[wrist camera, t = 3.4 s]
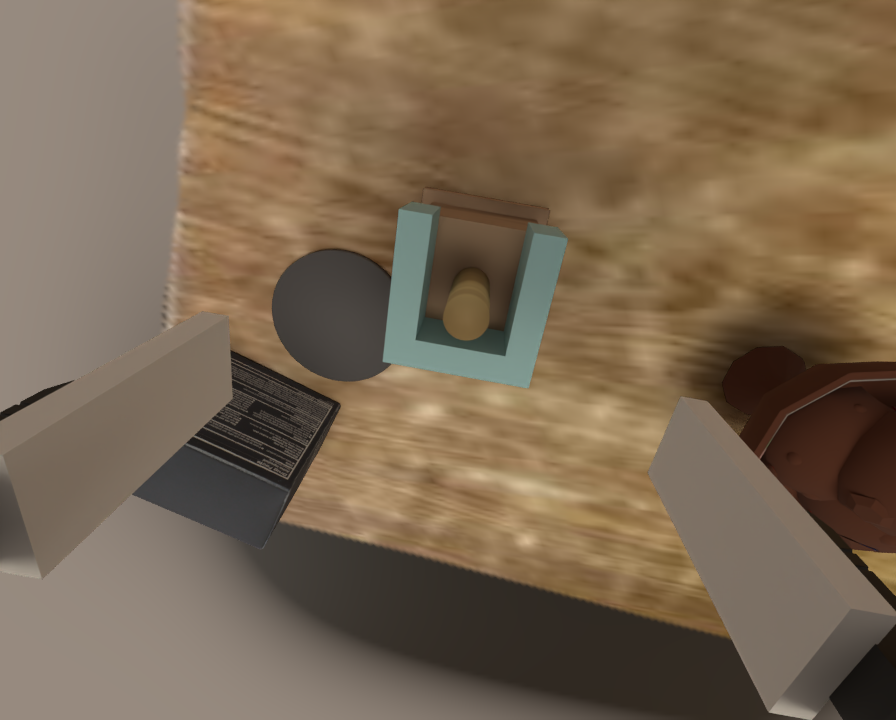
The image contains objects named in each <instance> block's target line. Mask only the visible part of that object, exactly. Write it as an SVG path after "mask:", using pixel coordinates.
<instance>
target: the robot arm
mask: <svg viewBox="0 0 896 720" xmlns="http://www.w3.org/2000/svg"><path fill="white" fill-rule="evenodd" d="M232 399H233V393H232V374H231V354H230V334H229V316H226V315H220V314H215V313H209V312H204V311H202V312H200V313H198V314H197V315H195V316H193V317H191V318H189V319H187V320H186V321H184V322H182V323H180V324H178V325H176V326H174V327H173V328H171V329H169V330H167V331H165V332H163V333H162V334H160V335H158V336H156V337H154V338H152V339H151V340H149V341H147V342H145V343H143V344H141V345H140V346H138V347H136V348H134V349H132V350H130V351H128V352H127V353H125V354H123V355H121V356H119V357H118V358H116V359H114V360H112V361H110V362H108V363H106V364H104V365H103V366H101V367H99V368H97V369H95V370H93V371H92V372H90V373H88V374H86V375H84V376H82V377H81V378H79V379H77V380H73V381H70V382H67V383H63V384H60V385H57V386H54V387H51V388H47V389H44V390H42V391H40V392H39V393H37V394H35V395H33V396H31V397H29V398H27V399H25V400H23V401H21V403H20V405H14V406H12V407H10V408H8V409H6V410H5V411H3V412H1V413H0V572H5V573H10V574H15V575H21V576H26V577H32V578H38V579H43V578H44V577H45V576H46V575H47V574H48V573H49V572H50V571H52V570H53V569H54V568H55V567H56V566H57V565H58V564H59V563H60V562H61V561H62V560H63V559H64V558H65V557H66V556H67V555H68V554H69V553H71V551H73V550H74V549H75V548H76V547H77V546H78V545H79V544H80V543H81V542H82V541H83V540H84V539H85V538H86V537H87V536H88V535H90V534H91V533H92V532H93V531H94V530H95V529H96V528H97V527H98V526H99V525H100V524H101V523H102V522H103V521H104V520H105V519H106V518H107V517H108V516H110V515H111V514H112V513H113V512H114V511H115V510H116V509H117V508H118V507H119V506H120V505H121V504H122V503H123V502H124V501H125V500H126V499H127V498H128V497H129V496H131V495H132V494H133V493H134V492H135V491H136V490H137V489H138V488H139V487H140V486H141V485H142V484H143V483H144V482H145V481H146V480H147V479H149V478H150V477H151V476H152V475H153V474H154V473H155V472H156V471H157V470H158V469H159V468H160V467H161V466H162V465H163V464H164V463H165V462H166V461H167V460H169V459H170V458H171V457H172V456H173V455H174V454H175V453H176V452H177V451H178V450H179V449H180V448H181V447H182V446H183V445H184V444H185V443H186V442H187V441H189V440H190V439H191V438H192V437H193V436H194V435H195V434H196V433H197V432H198V431H199V430H200V429H201V428H202V427H203V426H204V425H205V424H206V423H207V422H209V421H210V420H211V419H212V418H213V417H214V416H215V415H216V414H217V413H218V412H219V411H220V410H221V409H222V408H223V407H224V406H225V405H226V404H228V403H229V402H230V401H231V400H232ZM648 475H649V477H650V479H651V481H652V483H653V485H654V486H655V488H656V490H657V492H658V494H659V496H660V498H661V500H662V502H663V504H664V506H665V508H666V510H667V512H668V514H669V516H670V518H671V520H672V522H673V524H674V526H675V528H676V530H677V532H678V534H679V536H680V538H681V540H682V542H683V544H684V546H685V548H686V550H687V552H688V554H689V556H690V558H691V560H692V562H693V564H694V566H695V568H696V570H697V572H698V574H699V576H700V578H701V580H702V581H703V583H704V585H705V587H706V589H707V591H708V593H709V595H710V597H711V599H712V601H713V603H714V605H715V607H716V609H717V611H718V613H719V615H720V617H721V619H722V621H723V623H724V625H725V627H726V629H727V631H728V633H729V635H730V637H731V639H732V641H733V643H734V645H735V647H736V649H737V651H738V653H739V654H740V657H741V659H742V660H743V663H744V665H745V666H746V669H747V670H748V672H749V674H750V676H751V678H752V680H753V682H754V684H755V686H756V688H757V690H758V692H759V694H760V696H761V698H762V700H763V702H764V704H765V706H766V708H767V710H768V712H770V713H775V714H781V715H786V716H792V717H797V718H803V719H809V720H812V719H813V718H814V717H815V716H816V714H817V713H818V712H819V711H820V710H821V709H822V708H823V706H824V705H825V704H826V703H827V702H828V701H829V700H831V701H832V703H833V705H834V706H835V708H836V709H837V711H838V713H839V714H840V716H841V717H842V719H843V720H896V596H895V595H894V594H893V593H892V592H891V591H890V590H889V589H888V588H887V587H886V586H885V585H884V583H883V582H882V581H881V580H880V579H879V578H878V577H877V576H876V575H875V574H874V573H873V572H872V571H869V570H868V566H867V565H866V564H865V563H864V562H863V561H862V560H861V559H860V558H859V556H858V555H857V554H853V553H852V549H851V548H850V547H849V546H848V545H847V544H846V542H845V541H844V540H843V539H842V538H841V537H840V536H839V535H838V534H837V533H836V532H835V531H834V530H833V529H832V528H831V527H830V526H828V525H827V524H826V523H824V522H823V521H822V520H820V519H819V518H818V517H816V516H815V515H814V514H812V513H811V512H810V511H808V510H805V509H804V508H803V507H802V506H801V505H800V504H799V503H798V502H797V501H796V499H795V498H794V497H793V496H792V495H791V494H790V493H789V492H788V491H787V489H786V488H785V487H784V486H783V485H782V484H781V483H780V482H779V481H778V479H777V478H776V477H775V476H774V475H773V474H772V473H771V472H770V470H769V469H768V468H767V467H766V466H765V465H764V464H763V463H762V462H761V460H760V459H759V458H758V457H757V456H756V455H755V454H754V453H753V452H752V450H751V449H750V448H749V447H748V446H747V445H746V444H745V443H744V442H743V440H742V439H741V438H740V437H739V436H738V435H737V434H736V433H735V431H734V430H733V429H732V428H731V427H730V426H729V425H728V424H727V423H726V421H725V420H724V419H723V418H722V417H721V416H720V415H719V414H718V413H717V411H716V410H715V409H714V408H713V407H712V406H711V405H710V404H709V402H708V401H704V400H699V399H693V398H687V397H682V396H680V399H679V401H678V403H677V406H676V408H675V410H674V413H673V415H672V417H671V420H670V422H669V424H668V427H667V429H666V431H665V434H664V436H663V438H662V441H661V443H660V445H659V448H658V450H657V452H656V455H655V457H654V459H653V461H652V464H651V466H650V468H649V471H648Z"/></svg>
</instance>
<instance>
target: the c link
mask: <svg viewBox="0 0 896 720" xmlns="http://www.w3.org/2000/svg"><path fill="white" fill-rule="evenodd" d="M440 209H441V207H439V206H434V205H428V204H422V203H417V202H410V203H409V204H407V205H405V206H403V207H402V208H400V209H399V213H398V222H397V231H396V241H395V250H394V260H393V269H392V278H391V288H390V297H389V307H388V316H387V325H386V335H385V344H384V354H383V362H386V363H391V364H397V365H402V366H408V367H413V368H419V369H424V370H430V371H435V372H441V373H446V374H452V375H457V376H463V377H468V378H474V379H479V380H485V381H490V382H496V383H501V384H507V385H512V386H518V387H523V388H529V384H530V381H531V377H532V373H533V369H534V366H535V362H536V358H537V354H538V350H539V347H540V343H541V339H542V335H543V332H544V328H545V324H546V320H547V317H548V313H549V309H550V305H551V302H552V298H553V294H554V290H555V287H556V283H557V279H558V275H559V271H560V268H561V264H562V260H563V256H564V253H565V249H566V245H567V241H568V238H567V237H566V236H565V235H564V234H563V233H562V232H561V231H560V229H559V228H558V227H553V226H547V225H542V224H536V223H530V222H528V226H527V230H526V235H525V239H524V243H523V248H522V252H521V257H520V261H519V266H518V270H517V275H516V279H515V283H514V288H513V292H512V297H511V301H510V306H509V310H508V314H507V319H506V323H505V328H504V331H499V330H493V329H488V328H487V329H486V331H485V332H484V333H483V334H482V335H481V336H480V337H478V338H476V339H474V340H468V341H465V340H459V339H457V338H455V337H453V336H452V335H450V334H449V333H448V331H447V330H446V328H445V326H444V323H443V320H438V319H432V318H427V317H425V313H426V307H427V300H428V293H429V286H430V279H431V272H432V265H433V258H434V251H435V244H436V237H437V230H438V223H439V216H440Z"/></svg>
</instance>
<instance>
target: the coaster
mask: <svg viewBox="0 0 896 720" xmlns="http://www.w3.org/2000/svg"><path fill="white" fill-rule="evenodd" d="M390 288H391V277H390V275H389V274H388V273H387V272H386V271H385V270H384V269H382V268H381V267H380V266H379V265H377V264H376V263H375V262H373V261H372V260H370V259H368V258H366V257H364V256H362V255H359V254H357V253H354V252H350V251H346V250H337V249H333V250H322V251H317V252H314V253H311V254H308V255H306V256H304V257H302V258H300V259H299V260H297V261H296V262H294V263H293V264H292V265H291V266H290V267H289V268H287V269H286V271H285V272H284V273H283V274H282V276H281V277H280V279H279V281H278V283H277V285H276V288H275V291H274V295H273V299H272V316H273V321H274V326H275V329H276V331H277V334H278V336H279V338H280V340H281V342H282V344H283V345H284V347H285V348H286V350H287V351H288V352H289V353H290V355H291V356H292V357H293V358H294V359H295V360H296V361H297V362H299V363H300V364H301V365H302V366H304V367H305V368H307V369H308V370H310V371H311V372H313V373H315V374H317V375H320V376H322V377H325V378H328V379H332V380H337V381H359V380H364V379H368V378H370V377H373V376H375V375H377V374H379V373H381V372H382V371H384V370H385V369H386V368H388V367H389V366H390V365H391V363H386V362H383V354H384V344H385V335H386V325H387V316H388V307H389V297H390Z"/></svg>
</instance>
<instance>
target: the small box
mask: <svg viewBox="0 0 896 720" xmlns="http://www.w3.org/2000/svg"><path fill="white" fill-rule="evenodd" d="M230 354H231V374H232V393H233V399H232V400H231V401H230V402H229V403H228V404H226V405H225V406H224V407H223V408H222V409H221V410H220V411H219V412H218V413H217V414H216V415H215V416H214V417H213V418H212V419H211V420H210V421H209V422H207V423H206V424H205V425H204V426H203V427H202V428H201V429H200V430H199V431H198V432H197V433H196V434H195V435H194V436H193V437H192V438H191V439H190V440H189V441H187V442H186V443H185V444H184V445H183V446H182V447H181V448H180V449H179V450H178V451H177V452H176V453H175V454H174V455H173V456H172V457H171V458H170V459H169V460H167V461H166V462H165V463H164V464H163V465H162V466H161V467H160V468H159V469H158V470H157V471H156V472H155V473H154V474H153V475H152V476H151V477H150V478H149V479H147V480H146V481H145V482H144V483H143V484H142V485H141V486H140V487H139V488H138V489H137V490H136V491H135V492H134V493H133V494H132V495H134V496H137V497H139V498H142V499H144V500H146V501H149V502H151V503H153V504H156V505H158V506H160V507H163V508H165V509H167V510H170V511H172V512H175V513H177V514H179V515H182V516H184V517H186V518H189V519H191V520H194V521H196V522H198V523H200V524H203V525H205V526H208V527H210V528H212V529H215V530H217V531H219V532H222V533H224V534H226V535H229V536H231V537H233V538H236V539H238V540H240V541H243V542H245V543H247V544H250V545H252V546H254V547H256V548H259V549H262V548H264V546H265V544H266V543H267V541H268V539H269V537H270V536H271V534H272V532H273V530H274V529H275V527H276V525H277V523H278V522H279V520H280V518H281V517H282V515H283V513H284V511H285V510H286V508H287V506H288V504H289V503H290V501H291V499H292V498H293V496H294V494H295V492H296V491H297V489H298V487H299V485H300V483H301V482H302V480H303V478H304V476H305V474H306V472H307V471H308V469H309V467H310V465H311V464H312V462H313V460H314V458H315V456H316V455H317V453H318V451H319V449H320V447H321V446H322V444H323V441H324V439H325V437H326V435H327V433H328V431H329V429H330V427H331V425H332V423H333V421H334V419H335V417H336V415H337V413H338V411H339V409H340V404H339V403H337V402H335V401H333V400H331V399H329V398H327V397H325V396H323V395H321V394H319V393H317V392H314V391H313V390H310V389H308V388H306V387H304V386H302V385H300V384H298V383H296V382H294V381H292V380H290V379H288V378H286V377H283V376H281V375H279V374H277V373H275V372H273V371H271V370H269V369H267V368H265V367H263V366H261V365H259V364H257V363H255V362H252V361H251V360H249V359H246V358H244V357H242V356H240V355H238V354H236V353H234V352H232V351H230Z"/></svg>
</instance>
